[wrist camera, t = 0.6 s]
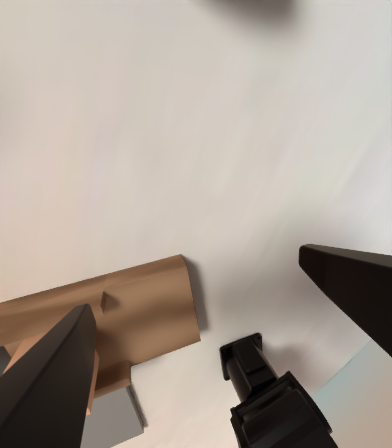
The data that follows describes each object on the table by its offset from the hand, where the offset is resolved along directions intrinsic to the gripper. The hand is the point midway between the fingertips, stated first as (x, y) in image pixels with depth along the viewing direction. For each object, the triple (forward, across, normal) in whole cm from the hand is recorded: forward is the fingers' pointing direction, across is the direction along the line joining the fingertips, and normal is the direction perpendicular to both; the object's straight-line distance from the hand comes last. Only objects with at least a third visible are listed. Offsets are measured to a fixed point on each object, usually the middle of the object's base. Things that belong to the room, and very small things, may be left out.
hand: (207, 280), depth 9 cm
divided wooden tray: (+14, +11, +11) cm, 21 cm away
